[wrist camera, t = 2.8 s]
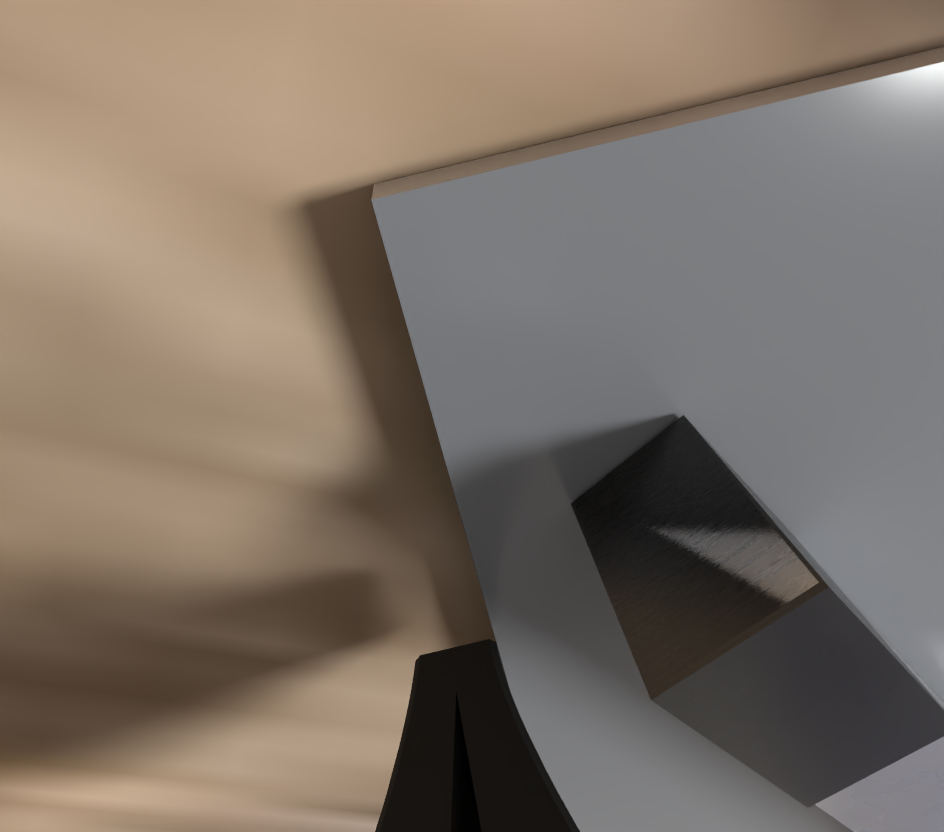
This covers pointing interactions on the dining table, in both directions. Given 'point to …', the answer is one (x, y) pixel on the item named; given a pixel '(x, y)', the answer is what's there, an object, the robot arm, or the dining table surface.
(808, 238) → the slate board
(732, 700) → the bar
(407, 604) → the dining table surface
